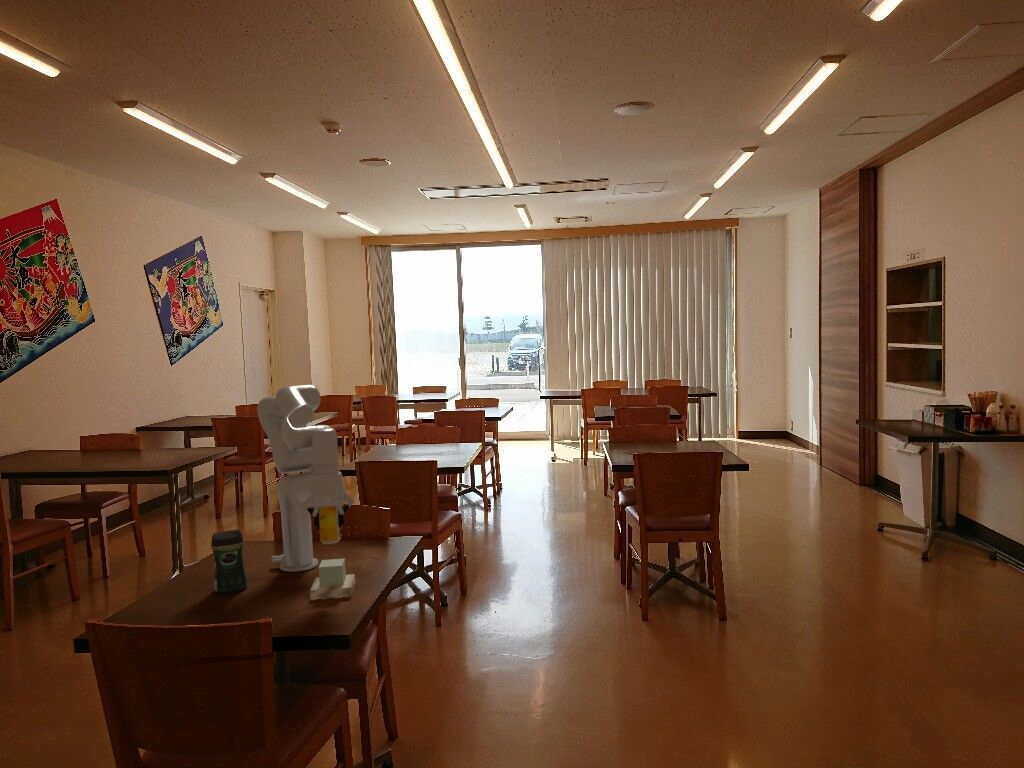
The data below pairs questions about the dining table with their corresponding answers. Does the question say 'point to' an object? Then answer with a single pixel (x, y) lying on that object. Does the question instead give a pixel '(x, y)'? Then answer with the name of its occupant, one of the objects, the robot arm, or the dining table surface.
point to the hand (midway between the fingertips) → (329, 527)
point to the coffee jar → (228, 561)
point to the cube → (332, 572)
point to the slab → (333, 589)
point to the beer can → (329, 522)
